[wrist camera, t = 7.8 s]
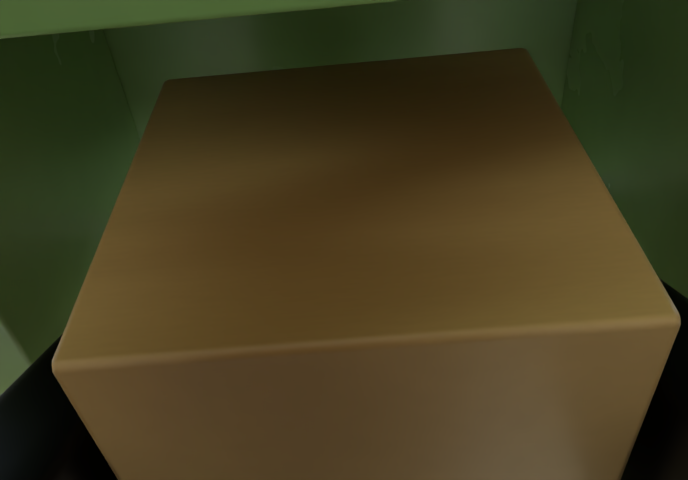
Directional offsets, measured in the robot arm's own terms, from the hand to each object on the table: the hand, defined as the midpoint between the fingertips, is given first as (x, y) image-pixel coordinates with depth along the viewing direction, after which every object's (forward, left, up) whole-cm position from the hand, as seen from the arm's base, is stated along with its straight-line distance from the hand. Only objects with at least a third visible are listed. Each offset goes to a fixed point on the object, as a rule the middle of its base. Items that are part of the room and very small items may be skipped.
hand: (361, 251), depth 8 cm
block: (0, 0, -1) cm, 1 cm away
